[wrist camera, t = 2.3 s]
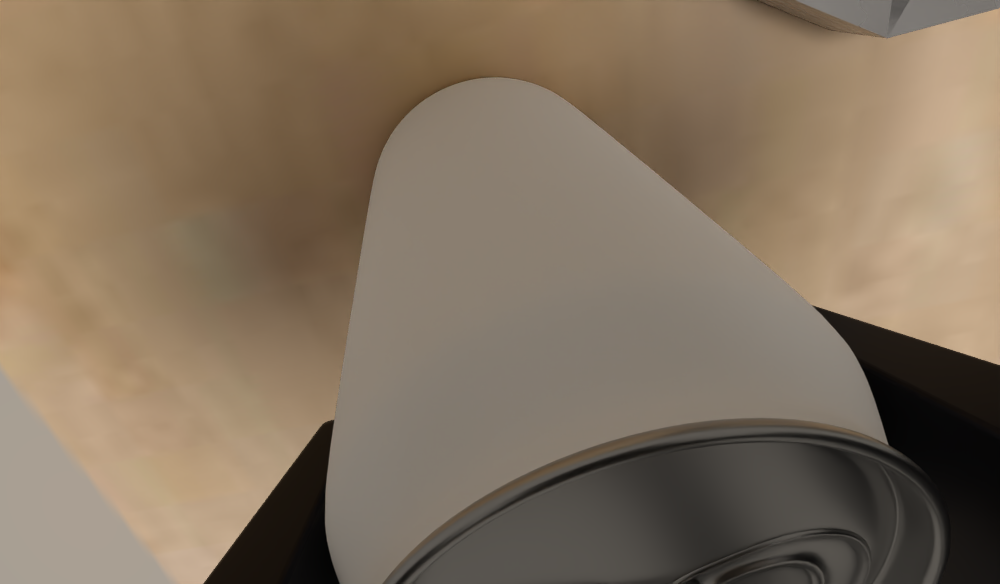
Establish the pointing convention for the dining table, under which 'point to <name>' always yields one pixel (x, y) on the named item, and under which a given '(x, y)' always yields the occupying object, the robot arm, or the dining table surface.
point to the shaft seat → (882, 13)
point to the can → (594, 380)
